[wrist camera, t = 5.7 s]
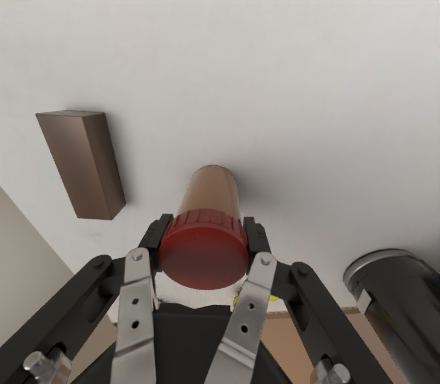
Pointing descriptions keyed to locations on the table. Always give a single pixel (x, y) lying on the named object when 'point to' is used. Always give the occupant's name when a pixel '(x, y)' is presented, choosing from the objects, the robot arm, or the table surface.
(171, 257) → the jar lid
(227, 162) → the table surface
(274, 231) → the table surface
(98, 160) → the lid rest
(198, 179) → the jar
